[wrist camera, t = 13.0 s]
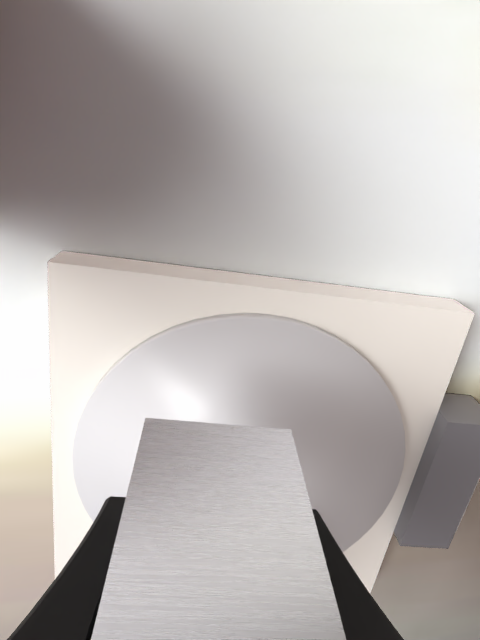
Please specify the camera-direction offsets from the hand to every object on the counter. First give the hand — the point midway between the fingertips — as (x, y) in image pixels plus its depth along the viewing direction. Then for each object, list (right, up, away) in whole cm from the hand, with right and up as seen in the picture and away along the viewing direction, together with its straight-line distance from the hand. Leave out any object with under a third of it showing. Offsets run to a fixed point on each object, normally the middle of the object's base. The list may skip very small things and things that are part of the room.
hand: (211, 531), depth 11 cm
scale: (+2, 0, +9) cm, 10 cm away
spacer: (0, +1, +1) cm, 2 cm away
